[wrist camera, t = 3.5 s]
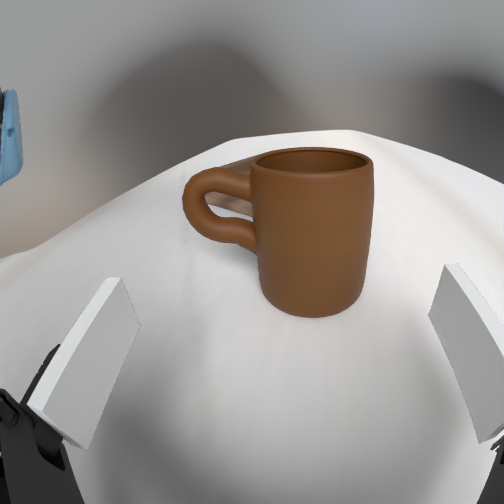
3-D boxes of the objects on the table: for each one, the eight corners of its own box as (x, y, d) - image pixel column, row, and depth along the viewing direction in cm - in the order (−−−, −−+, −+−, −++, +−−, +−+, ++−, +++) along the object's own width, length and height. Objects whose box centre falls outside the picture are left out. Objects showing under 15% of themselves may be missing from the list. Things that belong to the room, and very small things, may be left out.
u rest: (196, 200, 40) (192, 176, 38) (275, 169, 50) (274, 150, 48) (282, 225, 30) (280, 193, 28) (354, 184, 40) (354, 161, 38)
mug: (191, 326, 19) (154, 188, 14) (210, 263, 25) (191, 155, 20) (374, 317, 18) (396, 174, 13) (350, 256, 24) (355, 145, 19)
